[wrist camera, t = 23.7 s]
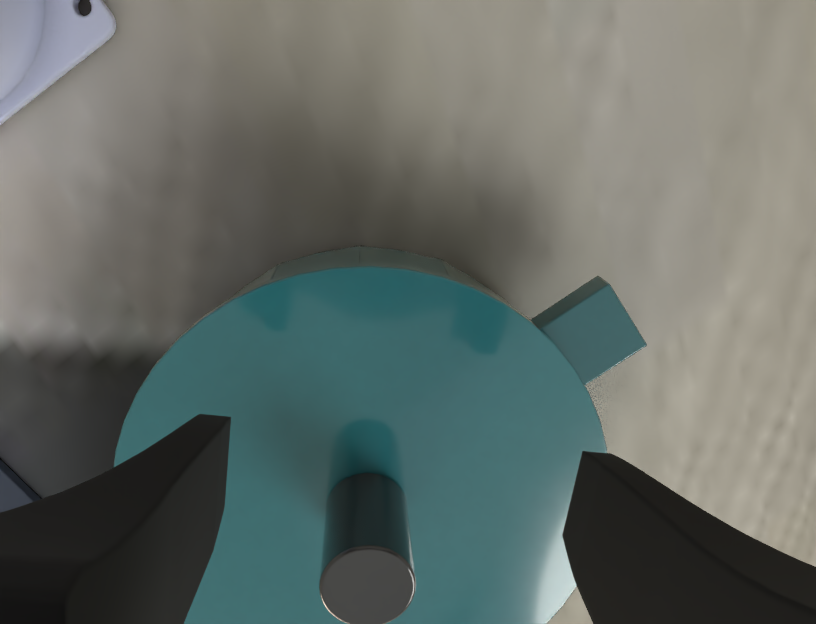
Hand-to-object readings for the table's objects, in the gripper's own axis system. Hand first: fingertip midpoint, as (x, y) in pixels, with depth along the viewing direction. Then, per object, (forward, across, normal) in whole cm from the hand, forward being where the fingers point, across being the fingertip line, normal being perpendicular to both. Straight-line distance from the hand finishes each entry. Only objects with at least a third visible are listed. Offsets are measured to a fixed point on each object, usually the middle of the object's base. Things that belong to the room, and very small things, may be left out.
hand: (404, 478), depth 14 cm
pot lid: (+6, 0, +4) cm, 7 cm away
